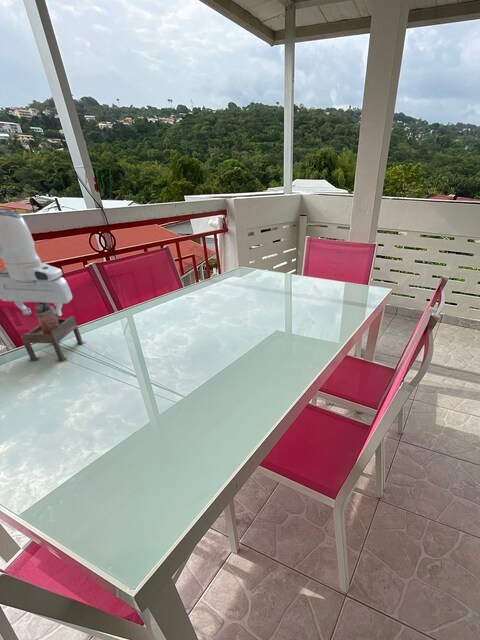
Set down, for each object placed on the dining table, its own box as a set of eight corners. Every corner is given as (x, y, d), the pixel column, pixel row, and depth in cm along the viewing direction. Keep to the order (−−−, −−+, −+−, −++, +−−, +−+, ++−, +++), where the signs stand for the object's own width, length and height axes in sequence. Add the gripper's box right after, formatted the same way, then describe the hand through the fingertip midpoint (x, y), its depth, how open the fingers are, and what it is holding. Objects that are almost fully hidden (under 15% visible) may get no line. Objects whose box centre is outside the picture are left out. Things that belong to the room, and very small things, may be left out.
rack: (31, 360, 108) (17, 331, 103) (54, 342, 120) (43, 315, 114) (63, 360, 109) (51, 332, 104) (83, 342, 121) (73, 316, 115)
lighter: (53, 327, 114) (42, 298, 108) (63, 327, 114) (53, 298, 108) (41, 336, 107) (28, 306, 101) (52, 336, 108) (40, 306, 102)
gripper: (-19, 271, 96) (2, 317, 104) (55, 275, 98) (71, 319, 106) (-4, 266, 101) (15, 310, 109) (66, 269, 103) (80, 312, 111)
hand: (43, 314), depth 107 cm, fingers open, 8 cm apart
